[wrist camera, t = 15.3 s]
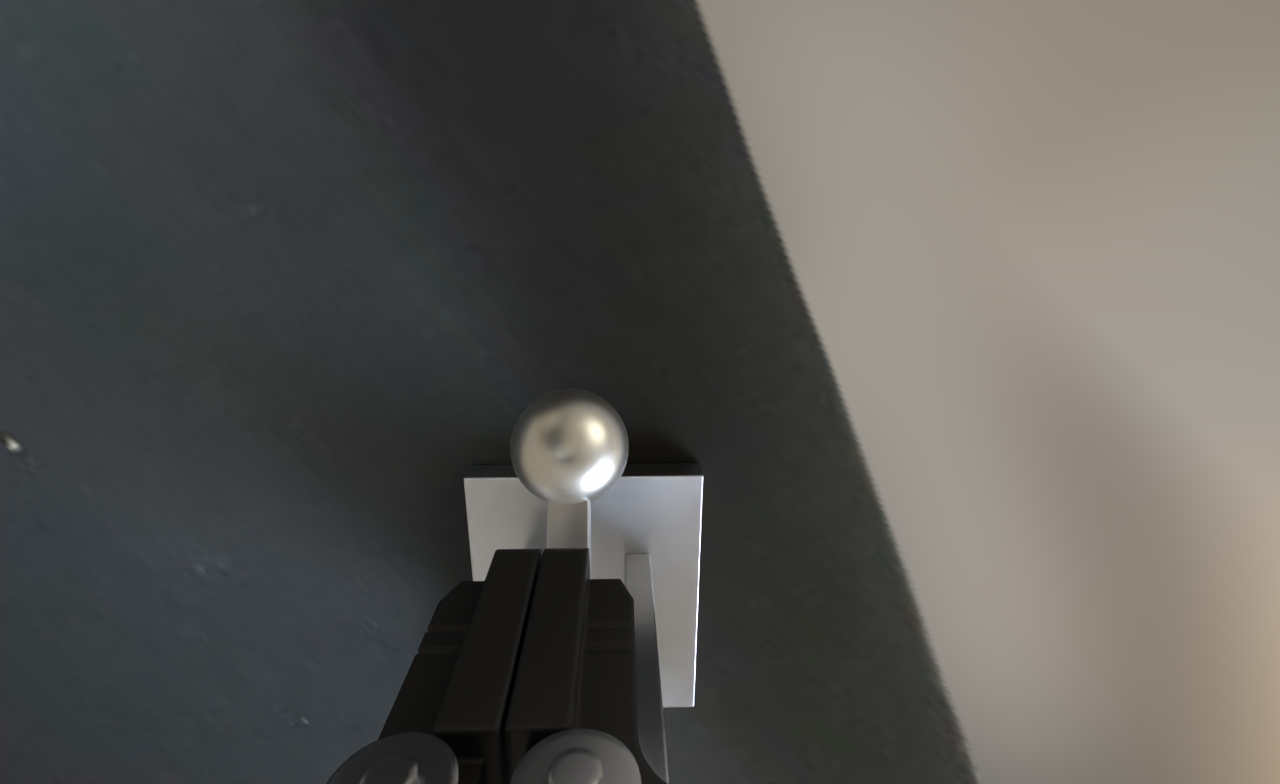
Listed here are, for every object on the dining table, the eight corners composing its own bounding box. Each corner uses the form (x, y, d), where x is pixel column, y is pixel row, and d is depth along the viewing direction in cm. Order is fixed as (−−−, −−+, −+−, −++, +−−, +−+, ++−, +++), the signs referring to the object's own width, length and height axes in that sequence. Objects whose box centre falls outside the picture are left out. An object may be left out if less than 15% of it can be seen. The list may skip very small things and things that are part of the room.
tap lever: (521, 397, 18) (501, 379, 15) (627, 397, 18) (629, 378, 15) (512, 875, 16) (486, 970, 13) (631, 872, 16) (633, 964, 13)
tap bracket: (470, 464, 24) (311, 747, 11) (699, 462, 24) (782, 735, 12) (489, 690, 27) (383, 1095, 15) (691, 686, 27) (749, 1080, 15)
